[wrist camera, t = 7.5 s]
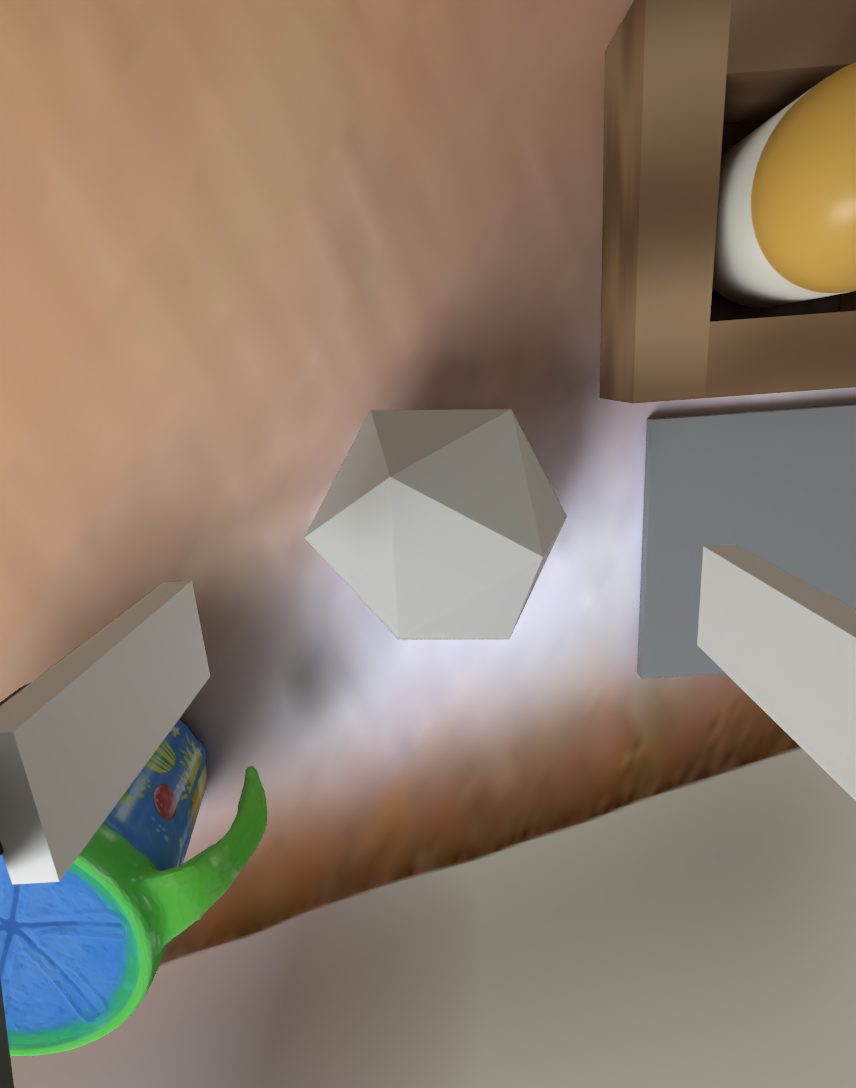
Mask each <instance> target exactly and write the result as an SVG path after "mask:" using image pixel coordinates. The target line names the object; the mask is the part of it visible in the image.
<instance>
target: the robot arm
mask: <svg viewBox="0 0 856 1088" xmlns="http://www.w3.org/2000/svg"><path fill="white" fill-rule="evenodd" d="M697 646H698V647H699V648H701V649H702V650H703V651H704V652H705V653H706V654H707V655H708V656H709V657H710V658H711V659H712V660H713V661H714V662H715V663H716V664H717V665H718V666H719V667H720V668H721V669H722V670H723V671H724V672H725V673H726V674H727V675H728V676H729V677H730V678H731V679H732V680H733V681H734V682H735V683H736V684H737V685H738V686H739V687H740V688H741V689H742V690H743V691H744V692H745V693H746V694H747V695H748V696H749V697H750V698H751V699H752V700H754V701H755V702H756V703H757V704H758V705H759V706H760V707H761V708H762V709H763V710H764V711H765V712H766V713H767V714H768V715H769V716H770V717H771V718H772V719H773V720H774V721H775V722H776V723H777V724H778V725H779V726H780V727H781V728H782V729H783V730H784V731H785V732H786V733H787V734H788V735H789V736H790V737H791V738H792V739H793V740H794V741H795V742H796V743H797V744H798V745H799V746H800V747H801V748H802V749H803V750H804V751H805V752H806V753H808V754H809V755H810V756H811V757H812V758H813V759H814V760H815V761H816V762H817V763H818V764H819V765H820V766H821V767H822V768H823V769H824V770H825V771H826V772H827V773H828V774H829V775H830V776H831V777H832V778H833V779H834V780H835V781H836V782H837V783H838V784H839V785H840V786H841V787H842V788H843V789H844V790H845V791H846V792H847V793H848V794H849V795H850V796H851V797H852V798H853V799H854V800H855V801H856V609H854V608H852V607H851V606H849V605H847V604H845V603H843V602H841V601H839V600H837V599H836V598H834V597H832V596H830V595H828V594H826V593H824V592H822V591H821V590H819V589H817V588H815V587H813V586H811V585H809V584H807V583H806V582H804V581H802V580H800V579H798V578H796V577H794V576H792V575H791V574H789V573H787V572H785V571H783V570H781V569H779V568H777V567H776V566H774V565H772V564H770V563H768V562H766V561H764V560H762V559H761V558H759V557H757V556H755V555H753V554H751V553H749V552H747V551H746V550H744V549H742V548H740V547H738V546H736V545H734V544H728V545H713V546H703V559H702V575H701V591H700V606H699V622H698V638H697ZM209 678H210V672H209V667H208V661H207V656H206V651H205V646H204V641H203V636H202V631H201V625H200V620H199V615H198V610H197V605H196V600H195V595H194V589H193V584H192V581H180V582H166V583H161V584H160V585H159V586H158V587H156V588H155V589H154V590H152V591H151V592H150V593H148V594H147V595H146V596H144V597H143V598H142V599H140V600H139V601H138V602H136V603H135V604H134V605H133V606H131V607H130V608H129V609H127V610H126V611H125V612H123V613H122V614H121V615H119V616H118V617H117V618H115V619H114V620H113V621H112V622H110V623H109V624H108V625H106V626H105V627H104V628H102V629H101V630H100V631H98V632H97V633H96V634H94V635H93V636H92V637H91V638H89V639H88V640H87V641H85V642H84V643H83V644H81V645H80V646H79V647H77V648H76V649H75V650H73V651H72V652H71V653H69V654H68V655H67V656H66V657H64V658H63V659H62V660H60V661H59V662H58V663H56V664H55V665H54V666H52V667H51V668H50V669H48V670H47V671H46V672H45V673H43V674H42V675H41V676H39V677H38V678H37V679H35V680H34V681H33V682H31V683H29V684H27V685H25V686H23V687H21V688H19V689H18V690H17V691H15V692H14V693H13V694H11V695H10V696H9V697H7V698H6V699H5V700H3V701H2V702H1V703H0V856H1V855H3V858H4V861H5V864H6V867H7V870H8V873H9V876H10V879H11V882H12V885H13V884H31V883H48V882H60V880H61V879H62V878H63V876H64V875H65V873H66V872H67V871H68V869H69V868H70V867H71V865H72V864H73V863H74V861H75V860H76V859H77V857H78V856H79V854H80V853H81V852H82V850H83V849H84V848H85V846H86V845H87V844H88V842H89V841H90V839H91V838H92V837H93V835H94V834H95V833H96V831H97V830H98V829H99V827H100V826H101V825H102V823H103V822H104V820H105V819H106V818H107V816H108V815H109V814H110V812H111V811H112V810H113V808H114V807H115V805H116V804H117V803H118V801H119V800H120V799H121V797H122V796H123V795H124V793H125V792H126V791H127V789H128V788H129V786H130V785H131V784H132V782H133V781H134V780H135V778H136V777H137V776H138V774H139V773H140V771H141V770H142V769H143V767H144V766H145V765H146V763H147V762H148V761H149V759H150V758H151V757H152V755H153V754H154V752H155V751H156V750H157V748H158V747H159V746H160V744H161V743H162V742H163V740H164V739H165V737H166V736H167V735H168V733H169V732H170V731H171V729H172V728H173V727H174V725H175V724H176V723H177V721H178V720H179V718H180V717H181V716H182V714H183V713H184V712H185V710H186V709H187V708H188V706H189V705H190V703H191V702H192V701H193V699H194V698H195V697H196V695H197V694H198V693H199V691H200V690H201V689H202V687H203V686H204V684H205V683H206V682H207V680H208V679H209ZM0 1088H14V1084H13V1077H12V1068H11V1060H10V1051H9V1043H8V1035H7V1027H6V1019H5V1010H4V1002H3V994H2V986H1V978H0Z"/></svg>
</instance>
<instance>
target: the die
mask: <svg viewBox="0 0 856 1088" xmlns="http://www.w3.org/2000/svg"><path fill="white" fill-rule="evenodd" d="M566 517H567V516H566V514H565V512H564V510H563V508H562V506H561V504H560V502H559V500H558V498H557V496H556V494H555V493H554V491H553V489H552V487H551V485H550V483H549V481H548V479H547V477H546V475H545V473H544V471H543V469H542V467H541V465H540V463H539V462H538V460H537V458H536V456H535V454H534V452H533V450H532V448H531V446H530V444H529V442H528V440H527V438H526V436H525V434H524V432H523V431H522V429H521V427H520V425H519V423H518V421H517V419H516V417H515V415H514V413H513V411H512V409H461V410H370V412H369V414H368V416H367V418H366V420H365V422H364V424H363V426H362V427H361V429H360V431H359V433H358V435H357V437H356V439H355V441H354V443H353V445H352V447H351V449H350V451H349V453H348V454H347V456H346V458H345V460H344V462H343V464H342V466H341V468H340V470H339V472H338V474H337V476H336V478H335V479H334V481H333V483H332V485H331V487H330V489H329V491H328V493H327V495H326V497H325V499H324V501H323V503H322V504H321V506H320V508H319V510H318V512H317V514H316V516H315V518H314V520H313V522H312V524H311V526H310V528H309V530H308V531H307V533H306V535H305V537H304V538H305V539H306V540H307V541H308V542H309V543H310V544H311V545H312V547H313V548H314V549H315V550H316V551H317V552H318V553H319V554H320V555H321V556H322V557H323V558H324V560H325V561H326V562H327V563H328V564H329V565H330V566H331V567H332V568H333V569H334V570H335V571H336V573H337V574H338V575H339V576H340V577H341V578H342V579H343V580H344V581H345V582H346V583H347V584H348V585H349V587H350V588H351V589H352V590H353V591H354V592H355V593H356V594H357V595H358V596H359V597H360V598H361V600H362V601H363V602H364V603H365V604H366V605H367V606H368V607H369V608H370V609H371V610H372V611H373V613H374V614H375V615H376V616H377V617H378V618H379V619H380V620H381V621H382V622H383V623H384V624H385V625H386V627H387V628H388V629H389V630H390V631H391V632H392V633H393V634H394V635H395V636H396V637H397V638H398V640H461V639H510V637H511V634H512V632H513V630H514V628H515V626H516V624H517V622H518V619H519V617H520V615H521V613H522V611H523V609H524V607H525V604H526V602H527V600H528V598H529V596H530V594H531V592H532V589H533V587H534V585H535V583H536V581H537V579H538V577H539V575H540V572H541V570H542V568H543V566H544V564H545V562H546V560H547V557H548V555H549V553H550V551H551V549H552V547H553V545H554V542H555V540H556V538H557V536H558V534H559V532H560V530H561V527H562V525H563V523H564V521H565V519H566Z"/></svg>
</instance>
